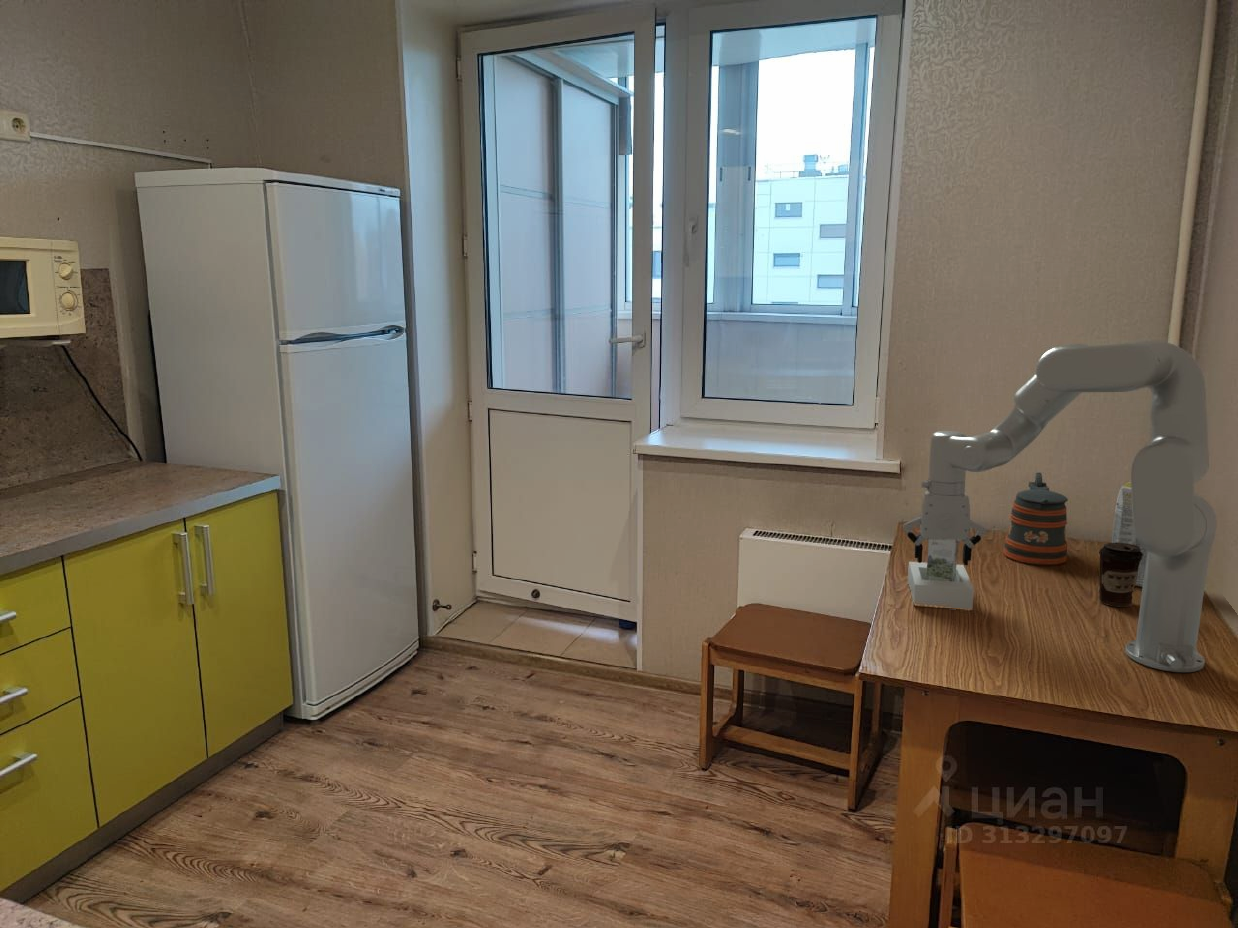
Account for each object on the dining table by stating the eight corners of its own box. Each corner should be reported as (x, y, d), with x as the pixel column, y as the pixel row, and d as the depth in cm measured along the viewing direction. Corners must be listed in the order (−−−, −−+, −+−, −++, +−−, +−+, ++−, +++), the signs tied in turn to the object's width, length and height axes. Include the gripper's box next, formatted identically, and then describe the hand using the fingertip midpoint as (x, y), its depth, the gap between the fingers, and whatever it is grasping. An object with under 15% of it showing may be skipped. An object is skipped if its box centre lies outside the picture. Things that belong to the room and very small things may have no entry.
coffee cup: (1144, 611, 185) (1151, 553, 182) (1101, 609, 187) (1107, 551, 184) (1129, 597, 193) (1135, 541, 191) (1088, 594, 195) (1094, 539, 192)
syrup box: (955, 593, 197) (959, 532, 194) (951, 602, 192) (955, 539, 189) (928, 589, 199) (932, 529, 196) (924, 598, 194) (928, 535, 191)
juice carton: (1159, 581, 203) (1171, 481, 198) (1150, 590, 197) (1163, 487, 192) (1114, 572, 209) (1125, 475, 204) (1105, 580, 204) (1116, 481, 199)
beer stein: (997, 541, 235) (1003, 469, 230) (1056, 545, 231) (1064, 472, 226) (1007, 563, 217) (1014, 485, 213) (1072, 568, 213) (1080, 489, 209)
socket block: (972, 610, 187) (974, 585, 186) (913, 606, 189) (915, 582, 188) (961, 585, 202) (963, 562, 201) (907, 581, 205) (908, 559, 204)
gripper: (906, 490, 189) (902, 565, 192) (991, 493, 185) (986, 569, 188) (903, 482, 196) (900, 555, 199) (985, 485, 192) (980, 559, 195)
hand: (942, 562), depth 194 cm, fingers open, 9 cm apart
